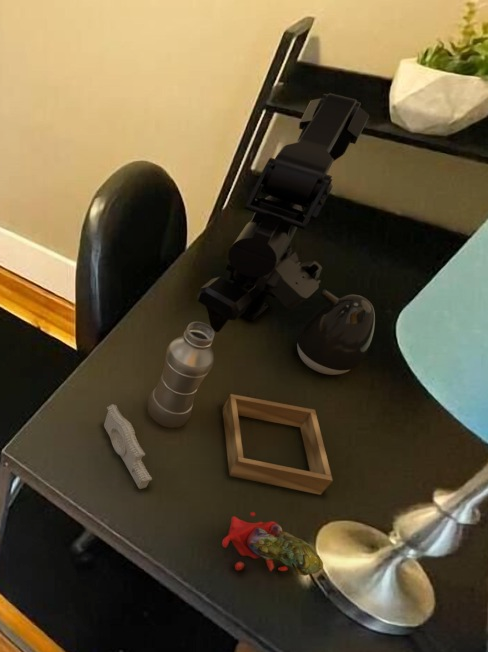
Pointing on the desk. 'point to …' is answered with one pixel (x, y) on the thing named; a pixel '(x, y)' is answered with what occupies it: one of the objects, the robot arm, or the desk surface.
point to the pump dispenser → (337, 334)
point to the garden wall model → (126, 445)
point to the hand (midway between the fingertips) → (230, 317)
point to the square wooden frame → (274, 473)
